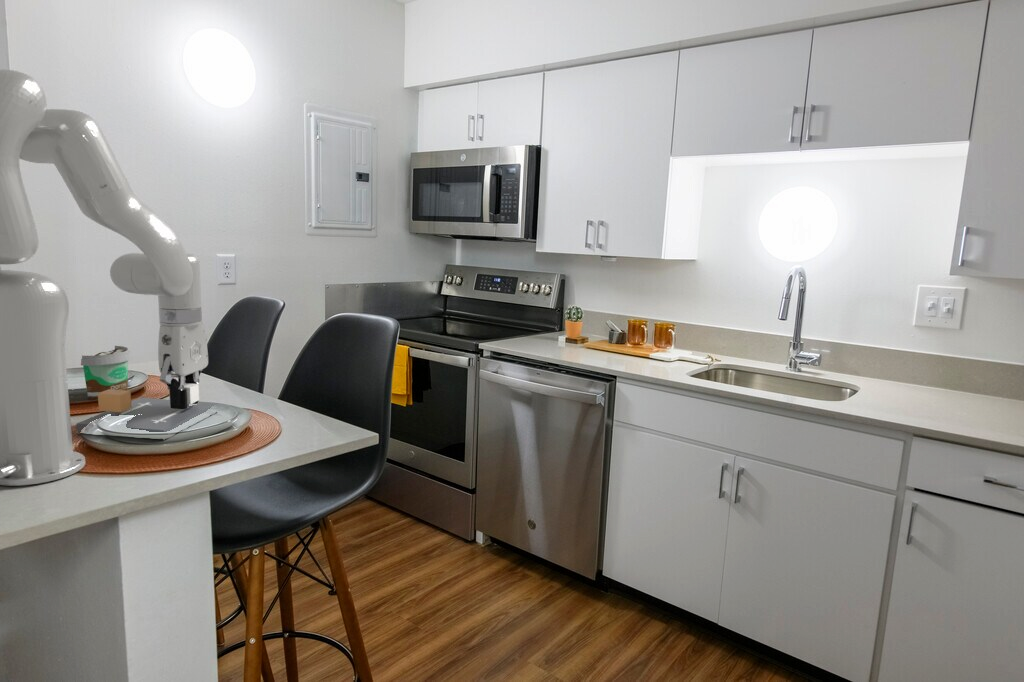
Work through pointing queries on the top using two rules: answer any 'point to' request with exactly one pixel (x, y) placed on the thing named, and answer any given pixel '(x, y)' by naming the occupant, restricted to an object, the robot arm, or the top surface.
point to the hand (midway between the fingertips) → (184, 404)
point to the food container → (106, 371)
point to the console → (154, 415)
